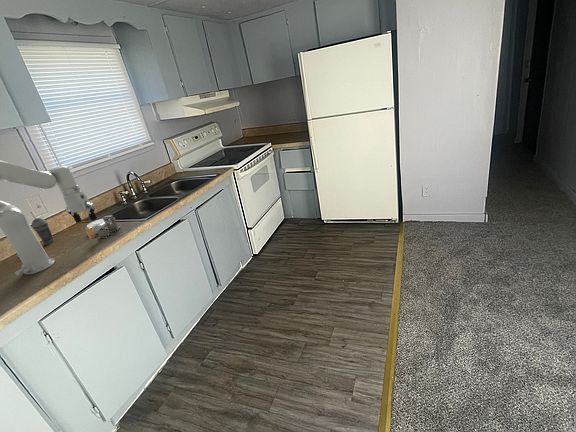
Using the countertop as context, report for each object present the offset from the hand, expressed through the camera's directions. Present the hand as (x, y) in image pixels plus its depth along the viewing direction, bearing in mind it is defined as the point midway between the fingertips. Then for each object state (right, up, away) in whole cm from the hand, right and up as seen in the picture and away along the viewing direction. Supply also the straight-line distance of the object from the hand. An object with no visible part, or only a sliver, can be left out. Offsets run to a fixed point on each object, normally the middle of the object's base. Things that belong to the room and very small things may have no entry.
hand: (86, 220), depth 159 cm
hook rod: (+3, -6, +11) cm, 13 cm away
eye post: (+4, -6, +18) cm, 19 cm away
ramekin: (-6, -6, +22) cm, 24 cm away
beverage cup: (-33, -13, +18) cm, 40 cm away
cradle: (+3, -9, +11) cm, 14 cm away
